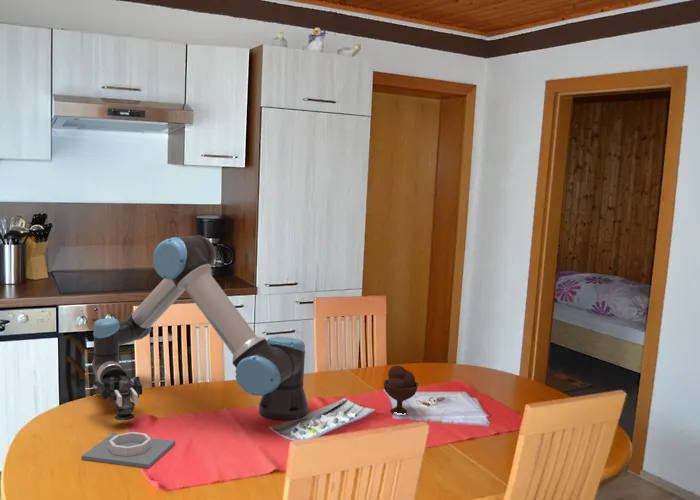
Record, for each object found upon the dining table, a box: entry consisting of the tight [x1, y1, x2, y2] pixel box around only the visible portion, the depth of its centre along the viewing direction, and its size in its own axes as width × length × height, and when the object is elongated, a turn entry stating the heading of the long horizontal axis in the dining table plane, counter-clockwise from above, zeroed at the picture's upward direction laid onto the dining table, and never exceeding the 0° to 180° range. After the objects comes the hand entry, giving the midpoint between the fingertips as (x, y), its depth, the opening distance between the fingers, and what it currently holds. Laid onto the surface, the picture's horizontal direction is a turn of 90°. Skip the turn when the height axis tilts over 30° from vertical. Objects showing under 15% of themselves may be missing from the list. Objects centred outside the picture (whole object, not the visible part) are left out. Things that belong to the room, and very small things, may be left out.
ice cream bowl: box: [383, 364, 419, 415], centre depth 207 cm, size 11×11×15 cm
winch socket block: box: [81, 431, 176, 469], centre depth 170 cm, size 18×15×3 cm
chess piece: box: [113, 376, 136, 421], centre depth 186 cm, size 6×6×12 cm
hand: (128, 400), depth 182 cm, fingers closed on chess piece, 4 cm apart
